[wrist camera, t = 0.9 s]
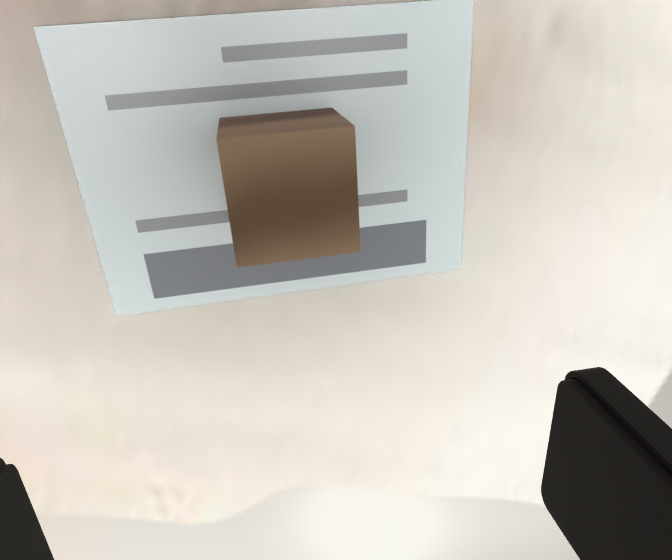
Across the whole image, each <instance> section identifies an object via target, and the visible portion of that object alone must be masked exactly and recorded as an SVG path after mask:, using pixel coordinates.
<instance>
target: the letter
mask: <svg viewBox="0 0 672 560" xmlns="http://www.w3.org/2000/svg"><path fill="white" fill-rule="evenodd" d="M473 13H474V0H431V1H415V2H400V3H385V4H370V5H355V6H340V7H325V8H310V9H295V10H280V11H265V12H250V13H235V14H220V15H205V16H190V17H175V18H159V19H144V20H129V21H114V22H99V23H84V24H69V25H54V26H39V27H33V28H34V32H35V35H36V39H37V42H38V46H39V49H40V53H41V56H42V60H43V63H44V67H45V70H46V74H47V77H48V81H49V84H50V88H51V91H52V95H53V98H54V102H55V105H56V109H57V112H58V116H59V119H60V123H61V126H62V130H63V133H64V137H65V140H66V144H67V147H68V151H69V154H70V158H71V161H72V165H73V168H74V172H75V175H76V179H77V182H78V185H79V189H80V192H81V196H82V199H83V203H84V206H85V210H86V213H87V217H88V220H89V224H90V227H91V231H92V234H93V238H94V241H95V245H96V248H97V252H98V255H99V259H100V262H101V266H102V269H103V273H104V276H105V280H106V283H107V287H108V290H109V294H110V297H111V301H112V304H113V308H114V311H115V315H116V316H123V315H130V314H138V313H145V312H152V311H160V310H167V309H174V308H182V307H189V306H196V305H204V304H211V303H219V302H226V301H233V300H241V299H248V298H255V297H263V296H270V295H277V294H285V293H292V292H299V291H307V290H314V289H321V288H329V287H336V286H343V285H351V284H358V283H365V282H373V281H380V280H387V279H395V278H402V277H409V276H417V275H424V274H431V273H439V272H446V271H453V270H461V259H462V238H463V218H464V197H465V177H466V156H467V136H468V115H469V95H470V74H471V54H472V33H473ZM321 108H333V109H334V110H336V111H337V112H338V113H339V114H341V115H342V116H343V117H344V118H346V119H347V120H348V121H349V122H351V123H352V124H353V125H354V126H355V138H356V160H357V182H358V204H359V226H360V248H361V252H356V253H348V254H341V255H333V256H325V257H317V258H309V259H302V260H294V261H286V262H278V263H271V264H263V265H255V266H247V267H239V268H237V265H236V259H235V253H234V246H233V240H232V234H231V228H230V222H229V215H228V209H227V203H226V197H225V190H224V184H223V178H222V172H221V165H220V159H219V153H218V147H217V140H216V139H217V131H218V124H219V118H223V117H233V116H244V115H255V114H266V113H277V112H288V111H299V110H310V109H321Z"/></svg>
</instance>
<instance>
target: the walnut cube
mask: <svg viewBox="0 0 672 560" xmlns="http://www.w3.org/2000/svg"><path fill="white" fill-rule="evenodd" d="M216 140H217V147H218V153H219V159H220V165H221V172H222V178H223V184H224V190H225V197H226V203H227V209H228V215H229V222H230V228H231V234H232V240H233V246H234V253H235V259H236V265H237V268H239V267H247V266H255V265H263V264H271V263H278V262H286V261H294V260H302V259H309V258H317V257H325V256H333V255H341V254H348V253H356V252H361V248H360V226H359V204H358V182H357V160H356V138H355V126H354V125H353V124H352V123H351V122H349V121H348V120H347V119H346V118H344V117H343V116H342V115H341V114H339V113H338V112H337V111H336V110H334V109H333V108H321V109H310V110H299V111H288V112H277V113H266V114H255V115H244V116H233V117H223V118H219V124H218V131H217V139H216Z"/></svg>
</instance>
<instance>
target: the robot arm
mask: <svg viewBox="0 0 672 560" xmlns="http://www.w3.org/2000/svg"><path fill="white" fill-rule="evenodd" d="M541 493H542V498H543V501H544V504H545V506H546V508H547V510H548V511H549V513H550V514H551V516H552V517H553V519H554V520H555V521H556V523H557V525H558V526H559V528H560V529H561V531H562V532H563V534H564V535H565V537H566V539H567V540H568V541H569V543H570V545H571V546H572V548H573V549H574V551H575V552H576V554H577V555H578V557H579V558H580V560H672V429H671V428H670V427H669V426H668V425H667V424H666V423H665V422H664V421H662V420H661V419H660V418H659V417H658V416H657V415H656V414H655V413H654V412H653V411H651V410H650V409H649V408H648V407H647V406H646V405H645V404H644V403H643V402H642V401H640V400H639V399H638V398H637V397H636V396H635V395H634V394H633V393H632V392H631V391H629V390H628V389H627V388H626V387H625V386H624V385H623V384H622V383H621V382H620V381H618V380H617V379H616V378H615V377H614V376H613V375H612V374H611V373H610V372H608V371H607V370H606V369H604V368H601V367H596V368H590V369H583V370H576V371H571V372H569V373H568V374H567V375H566V377H565V380H564V381H561V382H560V383H559V385H558V388H557V394H556V400H555V406H554V412H553V418H552V424H551V430H550V437H549V443H548V449H547V455H546V461H545V467H544V473H543V479H542V485H541ZM0 560H54V558H53V556H52V553H51V551H50V549H49V546H48V543H47V541H46V539H45V536H44V534H43V531H42V529H41V526H40V524H39V521H38V519H37V516H36V514H35V512H34V509H33V507H32V504H31V502H30V499H29V497H28V494H27V492H26V490H25V487H24V485H23V482H22V480H21V477H20V475H19V472H18V470H17V468H16V467H15V466H14V465H13V464H7V465H6V464H5V462H4V460H3V459H1V458H0Z"/></svg>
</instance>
